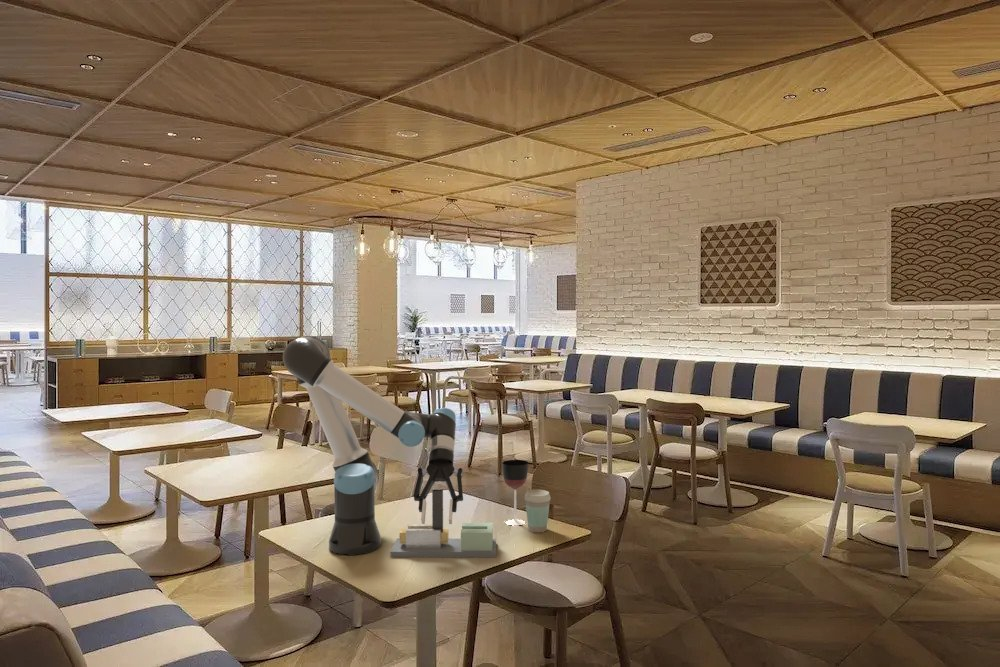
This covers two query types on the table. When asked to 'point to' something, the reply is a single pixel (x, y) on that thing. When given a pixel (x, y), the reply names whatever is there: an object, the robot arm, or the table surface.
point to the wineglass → (515, 481)
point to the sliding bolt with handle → (433, 518)
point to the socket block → (477, 537)
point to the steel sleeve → (423, 537)
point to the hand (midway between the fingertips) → (436, 521)
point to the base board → (439, 550)
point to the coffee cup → (537, 509)
